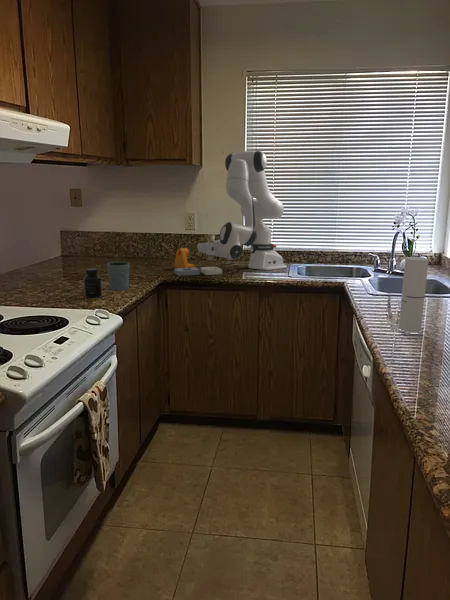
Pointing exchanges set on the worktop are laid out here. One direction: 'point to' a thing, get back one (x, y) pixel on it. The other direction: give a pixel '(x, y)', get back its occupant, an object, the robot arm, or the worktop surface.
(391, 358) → the worktop surface
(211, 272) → the tray
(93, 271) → the supplement bottle
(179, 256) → the bracket
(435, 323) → the worktop surface
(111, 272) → the blue cup
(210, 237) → the dowel
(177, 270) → the block
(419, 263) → the cylindrical container
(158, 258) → the worktop surface
